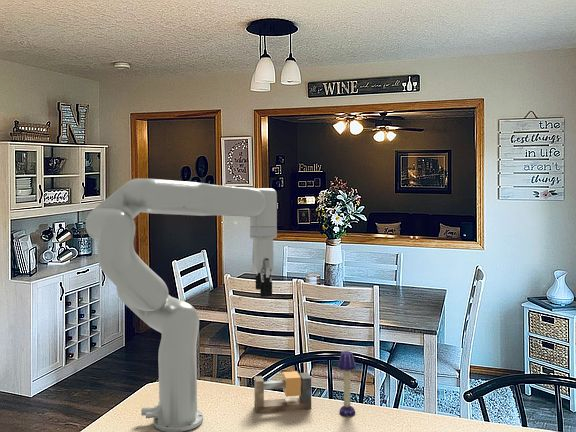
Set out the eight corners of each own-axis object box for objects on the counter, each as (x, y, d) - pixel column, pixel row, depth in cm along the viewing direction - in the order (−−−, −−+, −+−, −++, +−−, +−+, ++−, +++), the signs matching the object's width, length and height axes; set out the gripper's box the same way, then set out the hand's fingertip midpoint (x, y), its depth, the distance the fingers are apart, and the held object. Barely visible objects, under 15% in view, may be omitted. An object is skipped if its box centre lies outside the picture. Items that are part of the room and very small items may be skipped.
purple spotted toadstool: (354, 417, 148) (354, 355, 147) (336, 416, 149) (337, 354, 148) (355, 410, 153) (356, 349, 152) (338, 409, 154) (339, 348, 153)
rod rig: (256, 412, 152) (256, 381, 151) (254, 406, 156) (254, 376, 155) (311, 408, 154) (311, 378, 154) (307, 402, 159) (307, 372, 158)
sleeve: (286, 396, 152) (286, 378, 152) (282, 389, 157) (282, 372, 157) (300, 395, 153) (300, 377, 153) (296, 388, 158) (296, 371, 158)
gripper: (246, 229, 167) (246, 287, 168) (254, 235, 150) (254, 299, 151) (271, 229, 168) (271, 286, 169) (282, 235, 151) (282, 298, 152)
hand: (263, 292), depth 160 cm, fingers open, 9 cm apart
